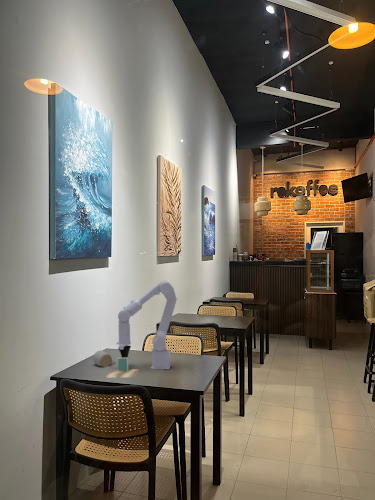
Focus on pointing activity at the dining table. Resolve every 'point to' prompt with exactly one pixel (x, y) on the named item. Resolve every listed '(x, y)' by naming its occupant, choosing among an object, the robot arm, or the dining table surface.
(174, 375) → the dining table surface
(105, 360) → the ceramic mug
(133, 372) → the board
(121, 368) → the tile
